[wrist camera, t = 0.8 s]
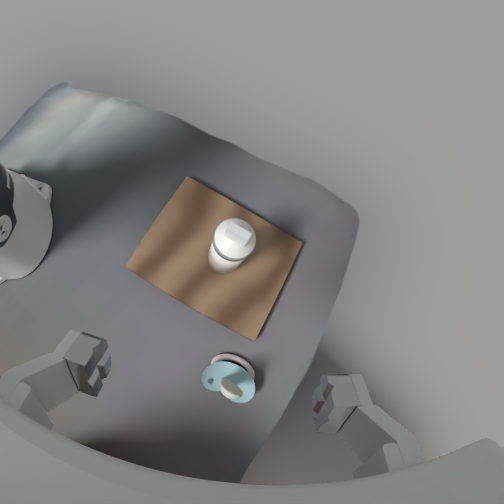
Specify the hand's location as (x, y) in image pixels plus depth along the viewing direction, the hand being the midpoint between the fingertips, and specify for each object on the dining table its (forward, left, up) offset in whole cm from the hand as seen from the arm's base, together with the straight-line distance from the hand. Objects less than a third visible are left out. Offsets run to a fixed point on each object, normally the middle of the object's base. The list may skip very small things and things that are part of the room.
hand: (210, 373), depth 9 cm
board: (-3, +11, -28) cm, 30 cm away
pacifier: (+7, -2, -28) cm, 29 cm away
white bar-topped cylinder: (-2, +11, -26) cm, 29 cm away
